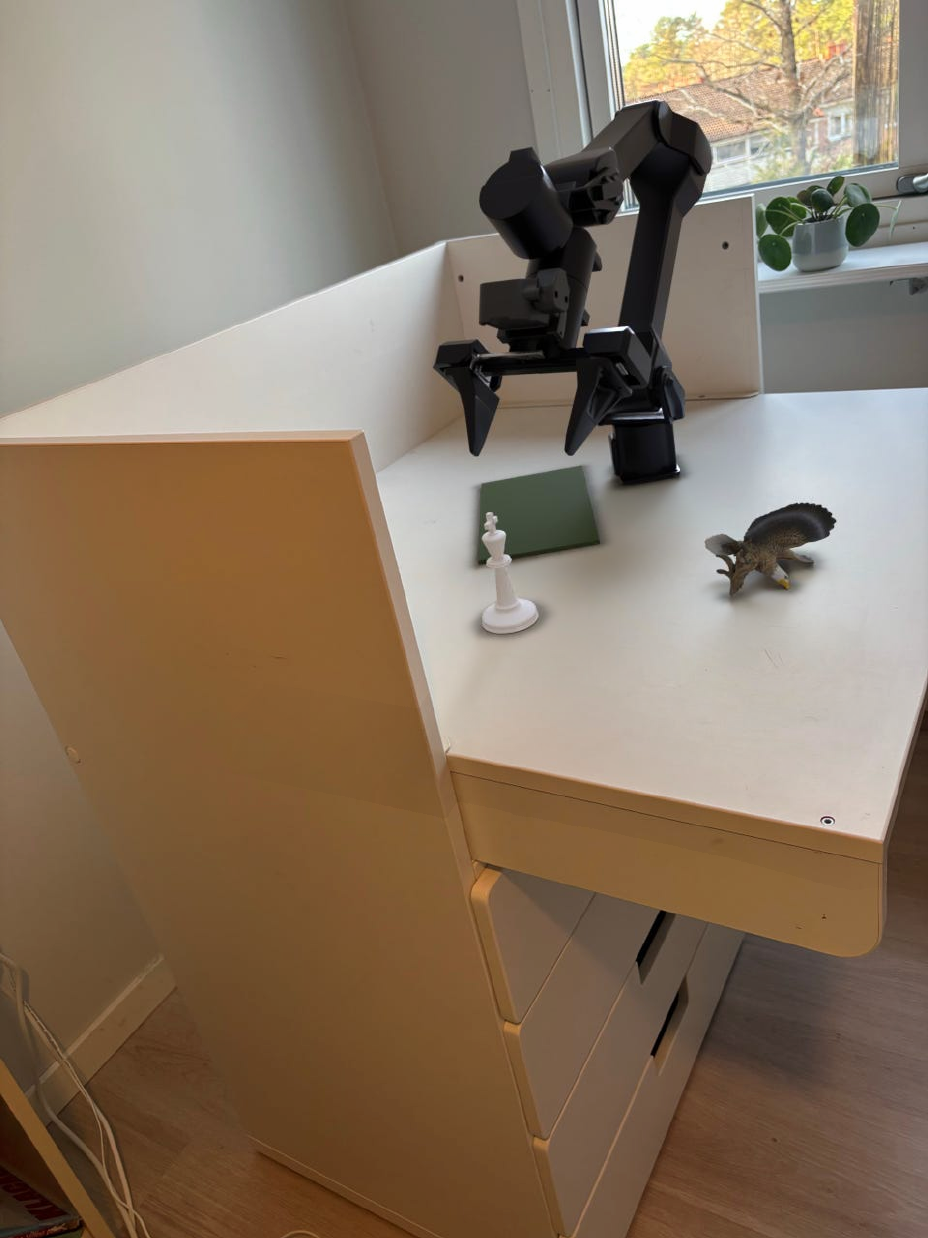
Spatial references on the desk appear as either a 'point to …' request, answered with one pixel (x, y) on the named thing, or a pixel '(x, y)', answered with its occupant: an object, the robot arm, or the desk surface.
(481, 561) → the green board
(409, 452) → the desk surface
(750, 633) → the desk surface
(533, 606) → the chess piece
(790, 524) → the eagle figurine
